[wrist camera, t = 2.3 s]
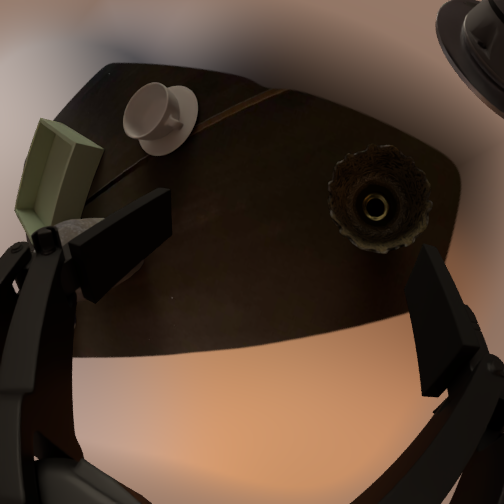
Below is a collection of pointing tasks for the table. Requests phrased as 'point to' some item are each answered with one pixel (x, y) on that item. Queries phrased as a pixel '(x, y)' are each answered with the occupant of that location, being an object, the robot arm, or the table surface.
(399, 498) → the robot arm
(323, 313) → the table surface
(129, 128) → the teacup
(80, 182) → the bin
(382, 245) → the dark brown hollow vessel
